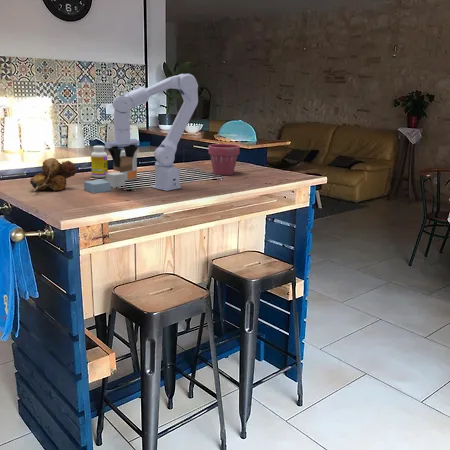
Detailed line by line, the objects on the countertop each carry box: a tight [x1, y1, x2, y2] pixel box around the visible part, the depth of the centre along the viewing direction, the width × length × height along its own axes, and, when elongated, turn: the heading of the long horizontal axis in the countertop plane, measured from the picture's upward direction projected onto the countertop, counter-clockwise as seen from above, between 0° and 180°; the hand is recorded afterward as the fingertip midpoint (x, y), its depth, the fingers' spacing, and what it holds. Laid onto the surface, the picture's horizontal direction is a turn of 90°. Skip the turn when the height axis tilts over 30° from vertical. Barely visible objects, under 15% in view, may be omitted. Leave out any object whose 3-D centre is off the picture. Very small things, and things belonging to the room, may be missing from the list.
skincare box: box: [119, 149, 138, 182], centre depth 208 cm, size 6×4×12 cm
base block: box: [83, 179, 112, 194], centre depth 187 cm, size 7×7×4 cm
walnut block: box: [112, 156, 133, 173], centre depth 188 cm, size 5×5×5 cm
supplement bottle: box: [90, 145, 109, 179], centre depth 212 cm, size 7×7×13 cm
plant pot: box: [207, 143, 241, 176], centre depth 227 cm, size 14×14×13 cm
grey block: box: [105, 171, 126, 189], centre depth 196 cm, size 5×5×5 cm
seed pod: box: [29, 157, 79, 193], centre depth 186 cm, size 13×16×15 cm
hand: (123, 165), depth 189 cm, fingers closed on walnut block, 5 cm apart
